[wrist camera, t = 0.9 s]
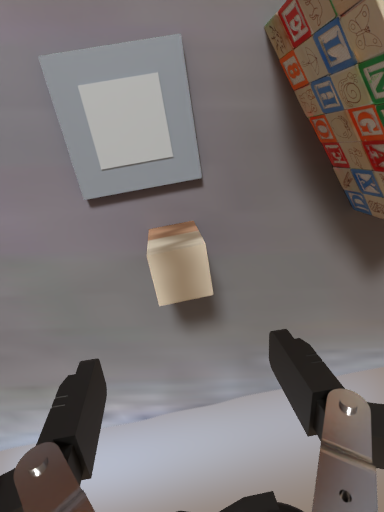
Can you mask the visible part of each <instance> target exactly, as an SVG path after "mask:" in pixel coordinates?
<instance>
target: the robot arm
mask: <svg viewBox="0 0 384 512" xmlns="http://www.w3.org/2000/svg"><path fill="white" fill-rule="evenodd" d="M269 361H270V365H271V368H272V370H273V372H274V374H275V376H276V378H277V380H278V382H279V384H280V385H281V387H282V389H283V391H284V393H285V395H286V397H287V398H288V400H289V402H290V404H291V406H292V408H293V410H294V411H295V413H296V415H297V417H298V419H299V421H300V422H301V425H302V426H303V428H304V430H305V432H306V434H307V436H313V435H318V437H319V439H320V441H321V446H320V454H319V462H318V469H317V477H316V485H315V492H314V499H313V507H312V512H378V505H377V478H376V468H380V469H384V404H376V403H369V402H366V401H365V400H364V399H363V398H362V397H361V396H360V395H358V394H357V393H355V392H353V391H350V390H347V389H345V388H344V387H343V386H342V385H341V384H340V382H339V381H338V380H337V378H336V377H335V376H334V375H333V373H332V372H331V371H330V369H329V368H328V367H327V366H326V364H325V363H324V362H322V359H321V358H320V357H319V356H318V355H317V354H316V352H315V351H314V349H313V348H312V347H311V346H310V345H309V344H308V343H306V342H305V341H303V340H302V339H300V338H297V339H294V338H293V337H292V335H291V334H290V333H289V331H288V330H287V329H282V330H276V331H271V332H270V334H269ZM106 396H107V388H106V382H105V378H104V375H103V371H102V368H101V364H100V361H99V359H91V360H85V361H81V362H80V363H79V366H78V368H77V371H76V374H74V375H68V377H67V378H66V379H65V380H64V381H63V383H62V384H61V385H60V386H59V389H58V392H57V394H56V397H55V399H54V402H53V404H52V408H51V409H50V412H49V414H48V417H47V419H46V422H45V424H44V427H43V429H42V432H41V434H40V437H39V439H38V442H37V444H36V446H35V447H34V448H32V449H30V450H29V451H28V452H27V453H26V454H25V455H24V456H23V457H22V458H21V459H20V461H19V462H18V464H17V466H16V468H14V469H13V470H11V471H9V472H7V473H5V474H3V475H1V476H0V512H95V511H94V509H93V507H92V505H91V503H90V502H89V500H88V498H87V496H86V494H85V493H84V491H83V490H82V489H81V488H80V483H81V480H85V479H90V478H91V476H92V471H93V465H94V460H95V455H96V450H97V445H98V439H99V434H100V429H101V424H102V418H103V413H104V408H105V403H106ZM178 512H186V511H178ZM220 512H303V511H302V510H300V509H298V508H296V507H293V506H291V505H288V504H284V503H279V502H277V501H276V498H275V496H274V493H273V491H271V492H266V493H262V494H257V495H253V496H248V497H244V498H242V499H240V500H238V501H237V502H235V503H233V504H232V505H230V506H228V507H226V508H225V509H223V510H221V511H220Z"/></svg>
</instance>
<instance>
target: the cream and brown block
mask: <svg viewBox="0 0 384 512" xmlns="http://www.w3.org/2000/svg"><path fill="white" fill-rule="evenodd" d="M147 259H148V263H149V267H150V271H151V275H152V279H153V283H154V287H155V291H156V295H157V299H158V303H159V306H163V305H168V304H172V303H177V302H182V301H187V300H191V299H196V298H201V297H206V296H210V295H213V289H212V283H211V276H210V270H209V263H208V257H207V251H206V244H205V242H204V240H203V238H202V236H201V234H200V232H199V231H198V229H197V227H196V225H195V223H194V221H189V222H184V223H179V224H174V225H169V226H164V227H158V228H153V229H149V235H148V247H147Z"/></svg>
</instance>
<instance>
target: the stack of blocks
mask: <svg viewBox="0 0 384 512" xmlns="http://www.w3.org/2000/svg"><path fill="white" fill-rule="evenodd" d="M264 28H265V31H266V33H267V35H268V37H269V39H270V41H271V43H272V45H273V47H274V49H275V51H276V53H277V55H278V57H279V61H280V64H281V66H282V68H283V70H284V72H285V74H286V76H287V78H288V80H289V82H290V84H291V86H292V88H293V90H294V92H295V94H296V96H297V99H298V101H299V103H300V105H301V107H302V109H303V111H304V113H305V115H306V117H307V118H309V120H310V123H311V124H312V126H313V128H314V130H315V132H316V134H317V136H318V138H319V140H320V142H321V143H322V145H323V147H324V149H325V151H326V153H327V155H328V157H329V159H330V161H331V163H332V165H333V170H334V172H335V174H336V176H337V178H338V180H339V182H340V184H341V186H342V188H343V189H344V191H345V193H346V195H347V198H348V199H349V201H350V203H351V205H352V207H353V209H354V210H356V211H360V212H363V213H366V214H369V215H373V216H375V217H378V218H381V219H384V0H287V1H286V2H285V3H284V5H283V6H282V7H281V8H280V10H279V11H278V12H277V13H276V14H275V15H274V16H273V17H272V18H271V19H270V21H269V22H268V23H267V24H266V25H265V27H264Z"/></svg>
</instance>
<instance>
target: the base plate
mask: <svg viewBox="0 0 384 512" xmlns="http://www.w3.org/2000/svg"><path fill="white" fill-rule="evenodd" d="M38 58H39V61H40V64H41V67H42V71H43V74H44V77H45V80H46V83H47V86H48V89H49V92H50V96H51V99H52V102H53V105H54V108H55V111H56V114H57V117H58V121H59V124H60V127H61V130H62V133H63V136H64V139H65V142H66V146H67V149H68V152H69V155H70V158H71V161H72V164H73V167H74V171H75V174H76V177H77V180H78V183H79V186H80V189H81V192H82V196H83V199H84V200H87V199H92V198H97V197H103V196H108V195H113V194H119V193H124V192H129V191H135V190H140V189H145V188H151V187H156V186H161V185H167V184H172V183H177V182H183V181H188V180H193V179H199V178H202V175H201V168H200V161H199V154H198V147H197V141H196V134H195V127H194V120H193V114H192V107H191V100H190V93H189V86H188V80H187V73H186V66H185V59H184V52H183V46H182V39H181V33H180V34H174V35H168V36H161V37H155V38H149V39H143V40H136V41H130V42H124V43H118V44H111V45H105V46H99V47H92V48H86V49H80V50H74V51H67V52H61V53H55V54H48V55H42V56H38Z"/></svg>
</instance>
